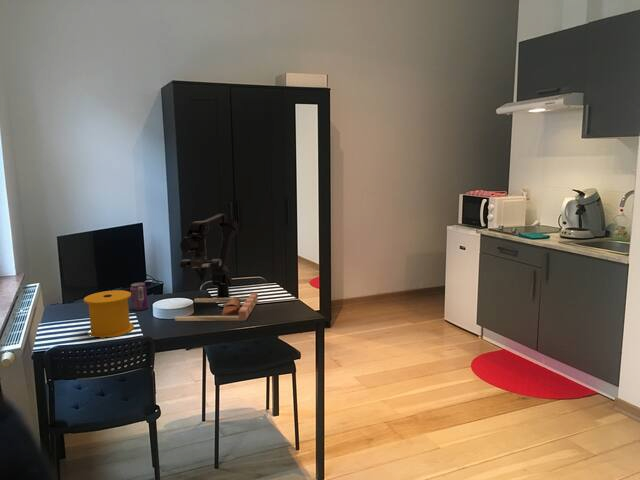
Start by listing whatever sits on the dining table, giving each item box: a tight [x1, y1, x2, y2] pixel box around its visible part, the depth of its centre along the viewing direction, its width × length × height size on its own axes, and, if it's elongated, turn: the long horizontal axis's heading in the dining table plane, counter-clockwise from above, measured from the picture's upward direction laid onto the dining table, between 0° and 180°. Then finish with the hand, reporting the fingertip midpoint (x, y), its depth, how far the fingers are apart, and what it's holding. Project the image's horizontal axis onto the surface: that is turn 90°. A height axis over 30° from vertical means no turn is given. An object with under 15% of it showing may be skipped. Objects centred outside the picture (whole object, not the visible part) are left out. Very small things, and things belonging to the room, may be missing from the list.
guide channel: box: [174, 292, 259, 322], centre depth 240 cm, size 30×31×4 cm
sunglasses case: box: [221, 296, 241, 316], centre depth 241 cm, size 18×7×7 cm, turn 10°
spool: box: [83, 289, 135, 339], centre depth 214 cm, size 18×18×15 cm
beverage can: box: [129, 282, 149, 311], centre depth 244 cm, size 7×7×12 cm
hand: (201, 280), depth 246 cm, fingers closed
